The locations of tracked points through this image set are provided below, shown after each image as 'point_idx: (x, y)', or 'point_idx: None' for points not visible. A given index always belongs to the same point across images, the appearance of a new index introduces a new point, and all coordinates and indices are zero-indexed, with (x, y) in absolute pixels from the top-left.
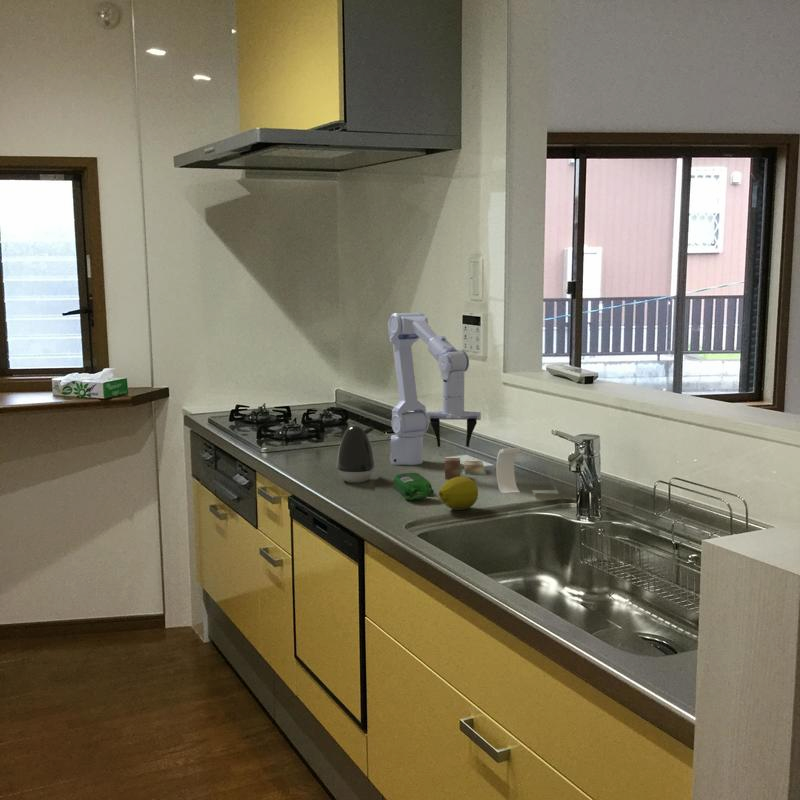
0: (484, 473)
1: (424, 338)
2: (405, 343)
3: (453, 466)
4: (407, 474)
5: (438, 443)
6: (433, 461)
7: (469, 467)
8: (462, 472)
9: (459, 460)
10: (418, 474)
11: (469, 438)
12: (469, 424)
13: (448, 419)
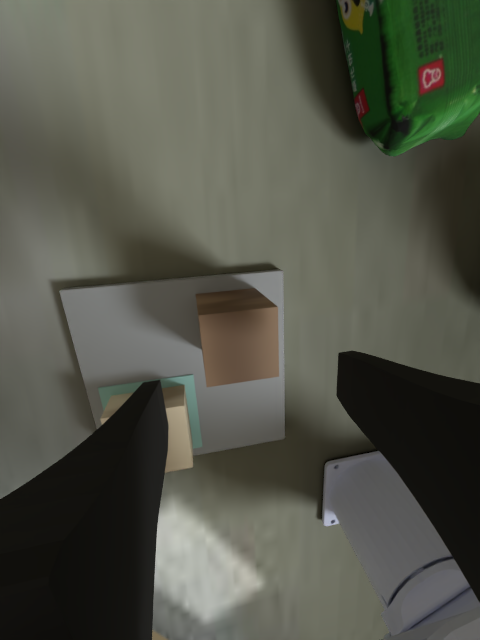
0: (106, 399)
1: None
2: None
3: (230, 304)
4: (470, 25)
5: (364, 355)
6: (295, 536)
7: (165, 401)
8: (196, 399)
9: (203, 329)
10: (416, 25)
11: (120, 412)
12: (35, 533)
13: (454, 616)
